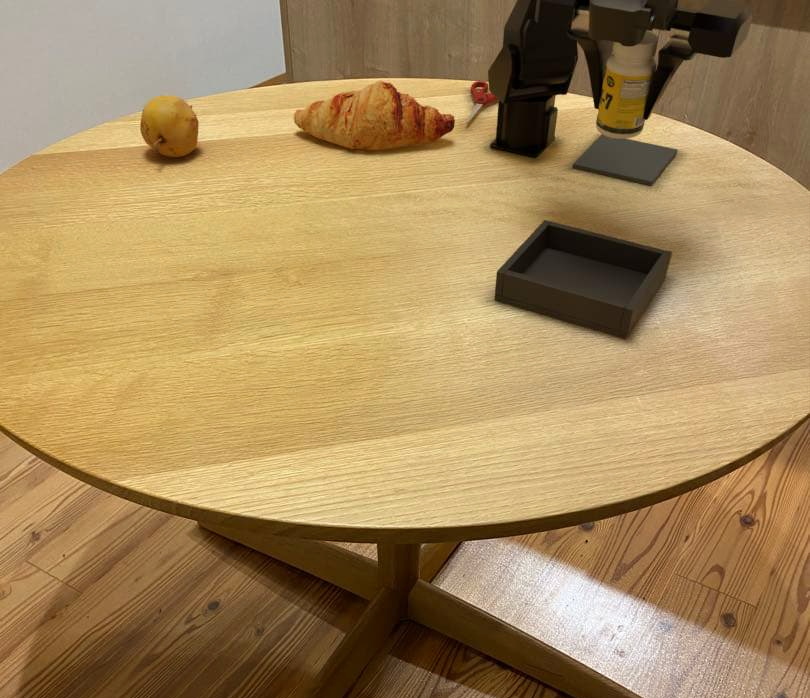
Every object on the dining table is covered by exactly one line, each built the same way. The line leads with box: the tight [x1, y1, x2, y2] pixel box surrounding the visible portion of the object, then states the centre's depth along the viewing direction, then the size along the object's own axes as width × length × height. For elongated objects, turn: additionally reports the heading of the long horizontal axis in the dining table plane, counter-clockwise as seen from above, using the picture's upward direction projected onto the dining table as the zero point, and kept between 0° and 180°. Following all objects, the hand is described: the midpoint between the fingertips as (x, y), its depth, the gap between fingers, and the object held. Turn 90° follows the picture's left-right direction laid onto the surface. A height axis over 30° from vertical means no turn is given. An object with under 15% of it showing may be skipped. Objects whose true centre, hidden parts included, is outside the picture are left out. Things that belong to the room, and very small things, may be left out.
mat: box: [572, 133, 679, 186], centre depth 98 cm, size 10×10×1 cm
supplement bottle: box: [595, 30, 659, 139], centre depth 77 cm, size 5×5×8 cm
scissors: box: [465, 80, 499, 125], centre depth 109 cm, size 5×14×1 cm, turn 161°
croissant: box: [293, 80, 456, 151], centre depth 101 cm, size 21×10×8 cm, turn 81°
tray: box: [494, 219, 673, 340], centre depth 78 cm, size 14×12×3 cm
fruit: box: [139, 94, 199, 158], centre depth 98 cm, size 7×7×10 cm
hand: (621, 113), depth 79 cm, fingers closed on supplement bottle, 5 cm apart
